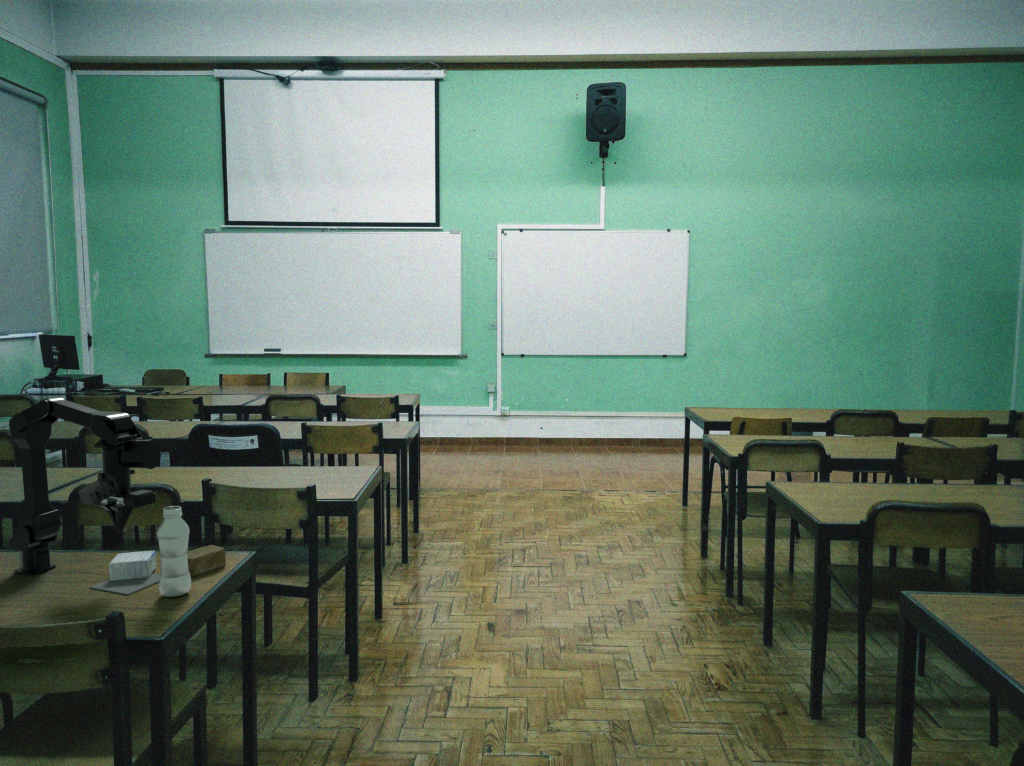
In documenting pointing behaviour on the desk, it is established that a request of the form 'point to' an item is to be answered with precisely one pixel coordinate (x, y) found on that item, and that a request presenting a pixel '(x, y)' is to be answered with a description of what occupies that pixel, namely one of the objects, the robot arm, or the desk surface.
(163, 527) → the plastic bottle
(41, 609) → the desk surface
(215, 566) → the stone block
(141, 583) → the mat
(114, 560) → the medicine box
